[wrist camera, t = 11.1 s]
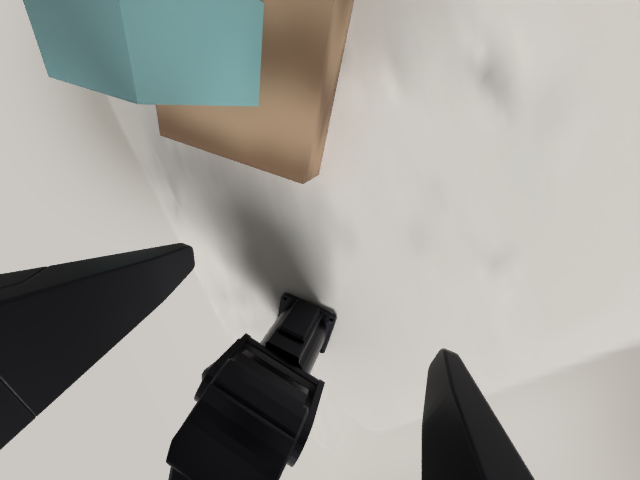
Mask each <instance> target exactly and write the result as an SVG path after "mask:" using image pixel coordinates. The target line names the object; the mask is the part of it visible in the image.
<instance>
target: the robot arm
mask: <svg viewBox="0 0 640 480" xmlns="http://www.w3.org/2000/svg"><path fill="white" fill-rule="evenodd" d="M194 266H195V261H194V253H193V248H192V247H191V246H189V245H186V244H184V243H177V244H172V245H166V246H160V247H155V248H149V249H143V250H138V251H132V252H126V253H121V254H115V255H109V256H103V257H98V258H92V259H86V260H81V261H75V262H70V263H64V264H58V265H52V266H49V267H41V268H35V269H29V270H23V271H17V272H11V273H5V274H0V450H1V449H2V448H3V447H4V446H5V445H6V444H7V443H8V442H9V441H10V440H12V439H13V438H14V437H15V436H16V435H17V434H18V433H19V432H20V431H21V430H22V429H23V428H25V427H26V426H27V425H28V424H29V423H30V422H31V421H32V420H33V419H35V417H36V416H38V415H39V414H40V413H41V412H42V411H43V410H44V409H45V408H46V407H48V406H49V405H50V404H51V403H52V402H53V401H54V400H55V399H56V398H58V397H59V396H60V395H61V394H62V393H63V392H64V391H65V390H66V389H67V388H69V387H70V386H71V385H72V384H73V383H74V382H75V381H76V380H77V379H78V378H80V377H81V376H82V375H83V374H84V373H85V372H86V371H87V370H88V369H89V368H91V367H92V366H93V365H94V364H95V363H96V362H97V361H98V360H99V359H100V358H102V357H103V356H104V355H105V354H106V353H107V352H108V351H109V350H110V349H112V347H114V346H115V345H116V344H117V343H118V342H119V341H120V340H121V339H123V337H125V336H126V335H127V334H128V333H129V332H130V331H131V330H132V329H134V328H135V327H136V326H137V325H138V324H139V323H140V322H141V321H142V320H143V319H144V318H145V317H147V316H148V315H149V314H150V313H151V312H152V311H153V310H154V309H156V307H158V306H159V305H160V304H161V303H162V302H163V301H164V300H165V299H166V298H167V297H168V296H169V295H170V294H171V293H172V292H173V291H174V290H175V288H176V287H177V286H178V285H179V284H180V283H181V282H182V281H183V279H185V278H186V277H187V275H188V274H189V273H190V272H191V271H192V270H193V268H194ZM336 319H337V317H336V316H335V315H334V314H332V313H330V312H328V311H326V310H324V309H321V308H319V307H317V306H315V305H313V304H310V303H308V302H306V301H304V300H301V299H299V298H297V297H295V296H293V295H290V294H288V293H283V295H282V296H281V302H280V308H279V314H278V319H277V320H276V321H275V323H274V324H273V326H272V327H271V328H270V330H269V331H268V333H267V334H266V336H265V337H264V338H263V340H262V341H261V343H259V342H257V341H256V340H254V339H252V338H251V336H250V335H248V334H245V335H244V336H243V337H242V338H241V339H238V340H237V341H236V342H235V343H234V344H233V345H232V346H231V347H230V348H229V349H228V350H227V351H226V352H225V353H224V354H223V355H222V356H221V357H220V358H219V359H218V360H217V361H216V362H214V363H213V364H212V365H210V366H209V367H208V368H206V369H205V370H204V372H203V373H202V382H201V384H200V386H199V388H198V390H197V392H196V395H195V398H194V399H195V401H197V403H196V405H195V406H194V408H193V410H192V411H191V413H190V414H189V416H188V417H187V419H186V420H185V422H184V423H183V425H182V426H181V428H180V430H179V431H178V432H177V434H176V435H175V436H174V438H173V439H172V442H171V445H170V448H169V452H168V456H167V459H166V462H167V463H168V464H169V465H170V466H171V469H170V474H169V480H279V478H280V476H281V474H282V472H283V470H284V467H285V465H286V464H288V465H290V466H291V467H292V466H293V465H294V464H295V463H296V461H297V459H298V457H299V456H300V454H301V451H302V450H303V447H304V445H305V443H306V441H307V438H308V436H309V433H310V431H311V428H312V425H313V422H314V418H315V415H316V411H317V408H318V404H319V401H320V397H321V394H322V390H323V387H324V383H325V382H323V381H322V380H320V379H319V380H318V379H316V378H315V377H313V376H312V375H310V372H311V370H312V368H313V365H314V363H315V361H316V359H317V356H318V354H319V352H320V353H324V352H325V350H326V347H327V344H328V341H329V339H330V336H331V333H332V330H333V328H334V325H335V322H336ZM422 480H534V478H533V476H532V475H531V473H530V471H529V470H528V468H527V466H526V465H525V463H524V461H523V460H522V458H521V457H520V455H519V453H518V452H517V450H516V448H515V447H514V445H513V443H512V442H511V440H510V439H509V437H508V435H507V434H506V432H505V430H504V429H503V427H502V425H501V424H500V422H499V421H498V419H497V417H496V416H495V414H494V412H493V411H492V410H491V408H490V406H489V404H488V403H487V401H486V399H485V398H484V396H483V394H482V393H481V391H480V390H479V388H478V386H477V385H476V383H475V381H474V380H473V378H472V376H471V375H470V373H469V372H468V370H467V368H466V367H465V365H464V363H463V362H462V360H461V358H460V357H459V356H458V355H457V354H456V353H454V352H452V351H449V350H447V349H441V350H440V351H439V352H438V354H437V355H436V357H435V358H434V360H433V361H432V363H431V364H430V366H429V370H428V377H427V386H426V395H425V403H424V412H423V422H422Z"/></svg>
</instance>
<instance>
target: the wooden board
mask: <svg viewBox="0 0 640 480" xmlns="http://www.w3.org/2000/svg"><path fill="white" fill-rule="evenodd" d="M260 1H262V2H263V3H264V14H263V32H262V51H261V70H260V89H259V106H209V105H157V104H156V109H157V116H158V123H159V130H160V135H161V136H164V137H167V138H170V139H172V140H175V141H178V142H181V143H184V144H187V145H190V146H193V147H196V148H199V149H202V150H205V151H208V152H211V153H213V154H216V155H219V156H222V157H225V158H228V159H231V160H234V161H237V162H240V163H243V164H246V165H249V166H252V167H254V168H257V169H260V170H263V171H266V172H269V173H272V174H275V175H278V176H281V177H284V178H287V179H290V180H293V181H295V182H298V183H301V184H304V183H306V182H307V181H309V180H311V179H312V178H314V177H316V176H317V175H319V170H320V165H321V160H322V155H323V150H324V146H325V141H326V136H327V131H328V126H329V121H330V116H331V111H332V106H333V101H334V96H335V91H336V86H337V81H338V76H339V71H340V66H341V61H342V56H343V51H344V47H345V42H346V37H347V32H348V27H349V22H350V17H351V12H352V7H353V2H354V0H260Z"/></svg>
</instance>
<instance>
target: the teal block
mask: <svg viewBox="0 0 640 480" xmlns="http://www.w3.org/2000/svg"><path fill="white" fill-rule="evenodd" d="M23 2H24V5H25V8H26V10H27V14H28V16H29V19H30V22H31V25H32V28H33V31H34V34H35V37H36V40H37V43H38V46H39V49H40V52H41V55H42V58H43V61H44V64H45V67H46V70H47V73H48V75H49V77H52V78H55V79H58V80H62V81H65V82H68V83H71V84H75V85H78V86H81V87H84V88H87V89H90V90H94V91H97V92H100V93H103V94H107V95H110V96H113V97H116V98H120V99H123V100H126V101H129V102H133V103H136V104H157V105H209V106H259V89H260V70H261V51H262V32H263V14H264V3H263V2H262V1H260V0H23Z"/></svg>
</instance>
